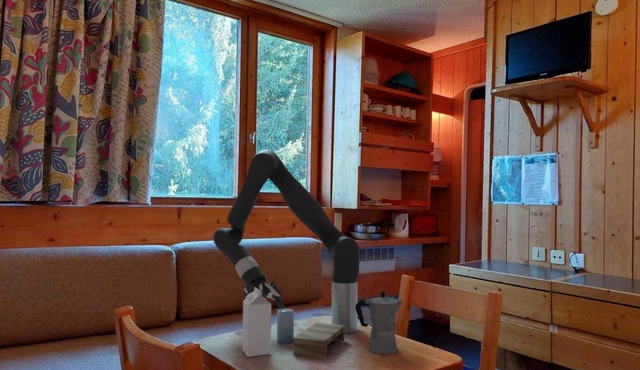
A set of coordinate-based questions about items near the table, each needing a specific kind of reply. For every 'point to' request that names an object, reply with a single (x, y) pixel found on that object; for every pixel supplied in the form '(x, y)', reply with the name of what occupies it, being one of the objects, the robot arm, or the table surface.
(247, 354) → the milk carton
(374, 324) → the coffeepot
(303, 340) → the shelf
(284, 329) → the blue dome-topped cylinder
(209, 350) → the table surface
